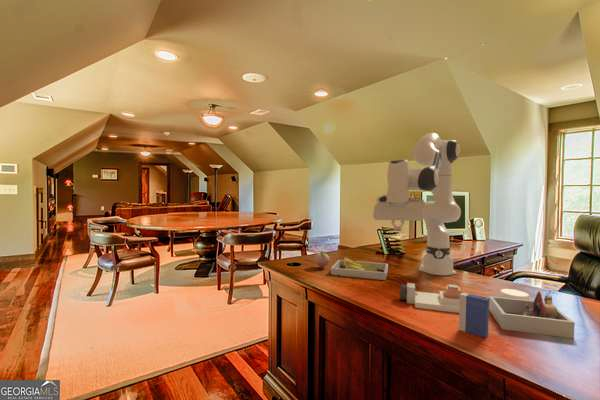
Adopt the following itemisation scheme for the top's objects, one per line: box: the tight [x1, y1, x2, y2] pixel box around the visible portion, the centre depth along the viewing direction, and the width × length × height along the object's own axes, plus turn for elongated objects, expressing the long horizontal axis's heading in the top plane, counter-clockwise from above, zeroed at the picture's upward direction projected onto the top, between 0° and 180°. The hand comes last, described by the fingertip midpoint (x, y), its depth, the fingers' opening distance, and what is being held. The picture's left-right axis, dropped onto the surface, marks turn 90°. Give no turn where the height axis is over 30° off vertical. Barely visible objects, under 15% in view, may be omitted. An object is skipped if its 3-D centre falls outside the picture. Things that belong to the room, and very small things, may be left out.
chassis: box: [406, 282, 463, 314], centre depth 124 cm, size 14×23×6 cm, turn 71°
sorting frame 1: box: [330, 259, 389, 281], centre depth 170 cm, size 21×28×4 cm
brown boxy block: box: [444, 284, 462, 299], centre depth 122 cm, size 5×5×6 cm
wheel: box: [399, 284, 418, 301], centre depth 127 cm, size 6×7×6 cm
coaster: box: [499, 288, 530, 300], centre depth 129 cm, size 10×10×4 cm
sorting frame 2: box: [488, 295, 576, 339], centre depth 107 cm, size 18×19×5 cm
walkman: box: [458, 292, 490, 339], centre depth 99 cm, size 8×3×12 cm, turn 47°
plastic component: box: [343, 256, 378, 272], centre depth 171 cm, size 20×7×10 cm
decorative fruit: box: [313, 250, 330, 269], centre depth 178 cm, size 9×8×10 cm
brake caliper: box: [521, 291, 558, 319], centre depth 106 cm, size 11×11×12 cm
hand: (397, 230), depth 132 cm, fingers closed
